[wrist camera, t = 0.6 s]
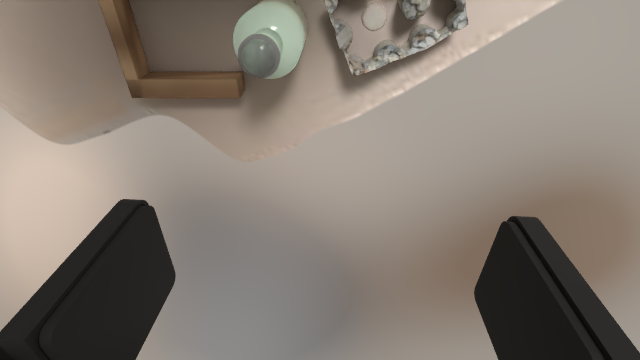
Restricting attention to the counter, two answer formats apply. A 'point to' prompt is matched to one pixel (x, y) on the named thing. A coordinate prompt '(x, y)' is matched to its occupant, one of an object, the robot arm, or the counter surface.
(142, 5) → the counter surface
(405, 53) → the egg carton
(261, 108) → the counter surface
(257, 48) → the bottle
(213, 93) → the rest
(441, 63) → the counter surface
